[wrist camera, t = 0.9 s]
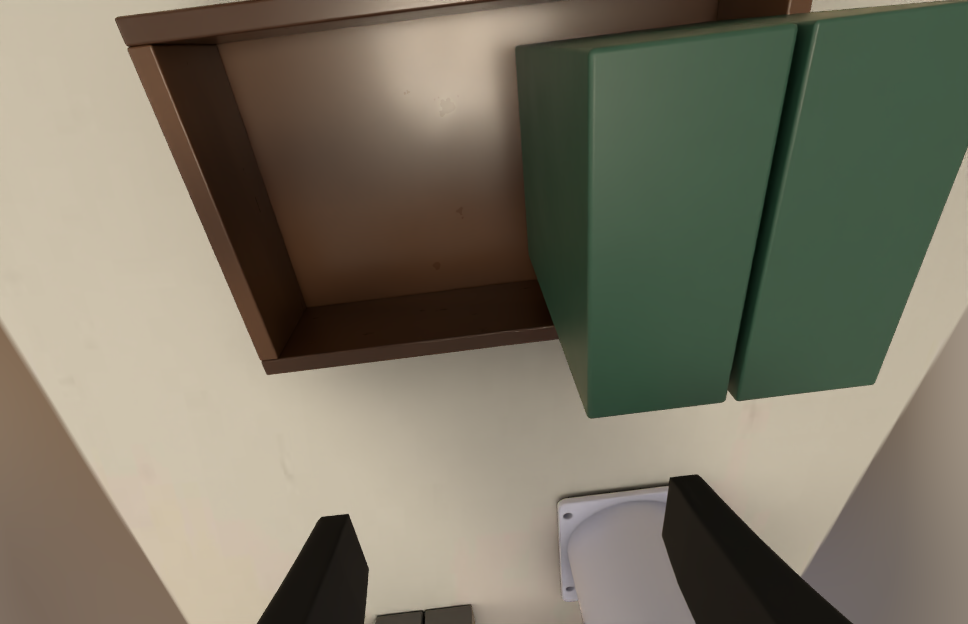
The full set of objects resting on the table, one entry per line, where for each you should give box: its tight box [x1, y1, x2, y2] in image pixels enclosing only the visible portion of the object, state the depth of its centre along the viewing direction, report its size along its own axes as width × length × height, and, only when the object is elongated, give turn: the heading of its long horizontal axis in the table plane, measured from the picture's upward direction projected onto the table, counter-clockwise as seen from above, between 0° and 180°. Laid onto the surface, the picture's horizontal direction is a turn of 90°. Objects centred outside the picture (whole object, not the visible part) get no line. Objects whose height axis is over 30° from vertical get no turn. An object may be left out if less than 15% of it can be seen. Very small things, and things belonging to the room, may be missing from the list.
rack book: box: [515, 23, 798, 419], centre depth 12 cm, size 7×3×9 cm, turn 6°
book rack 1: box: [115, 0, 812, 375], centre depth 15 cm, size 10×16×4 cm, turn 96°
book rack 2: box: [621, 0, 968, 401], centre depth 12 cm, size 7×3×9 cm, turn 6°
